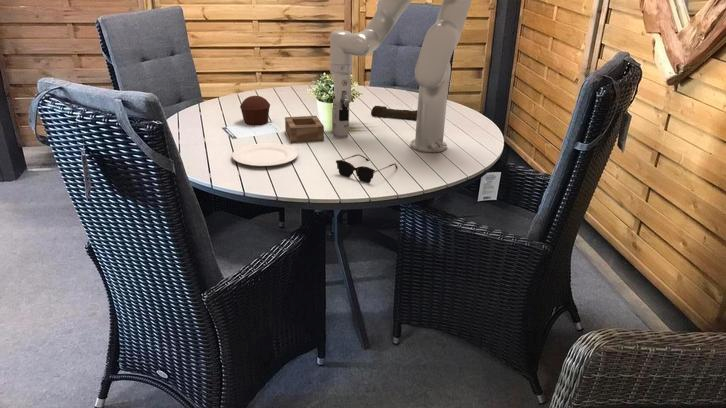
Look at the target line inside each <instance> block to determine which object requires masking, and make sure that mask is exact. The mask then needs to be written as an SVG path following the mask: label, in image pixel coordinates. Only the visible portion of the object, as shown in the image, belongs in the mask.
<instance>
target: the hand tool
mask: <svg viewBox="0 0 726 408" xmlns="http://www.w3.org/2000/svg"><path fill="white" fill-rule="evenodd" d="M370 115H371V116H372V117H376V118H381V117H382V118H383V119H385V118H398V119H407V120H414V121H416V122H417V109H416V110H409V109H395V108H394V109H393V108H387V106H383V105H374V106H373V107H372V109H371V111H370Z"/></svg>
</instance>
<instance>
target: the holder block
mask: <svg viewBox="0 0 726 408" xmlns="http://www.w3.org/2000/svg"><path fill="white" fill-rule="evenodd" d="M284 124H285V126H284V128H285V129H284V130H285V134H286V135H287V138H288V140H289V142H290V143H291V144H304V143H306V144H307V143H321V142H322V143H323V142H325V126H324V124H323V123H322V121H321V120H320V118H319V117H318V116H317V115H305V116H303V115H302V116H284Z"/></svg>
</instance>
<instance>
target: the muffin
mask: <svg viewBox="0 0 726 408" xmlns="http://www.w3.org/2000/svg"><path fill="white" fill-rule="evenodd" d="M270 107H271V104H270V102H269V101H268V100H267V99H266V98H264V97H263V96H260V95H251V96H248V97H246V98H244V99H243V101H242V102H241V104H240V106H239V109H240V111H241V114H242V115H241V116H242V119H243V123H244V124H245V125H246V126H251V127H259V126H260V127H261V126H264V125H267V124H268V122H269V115H270Z"/></svg>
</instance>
